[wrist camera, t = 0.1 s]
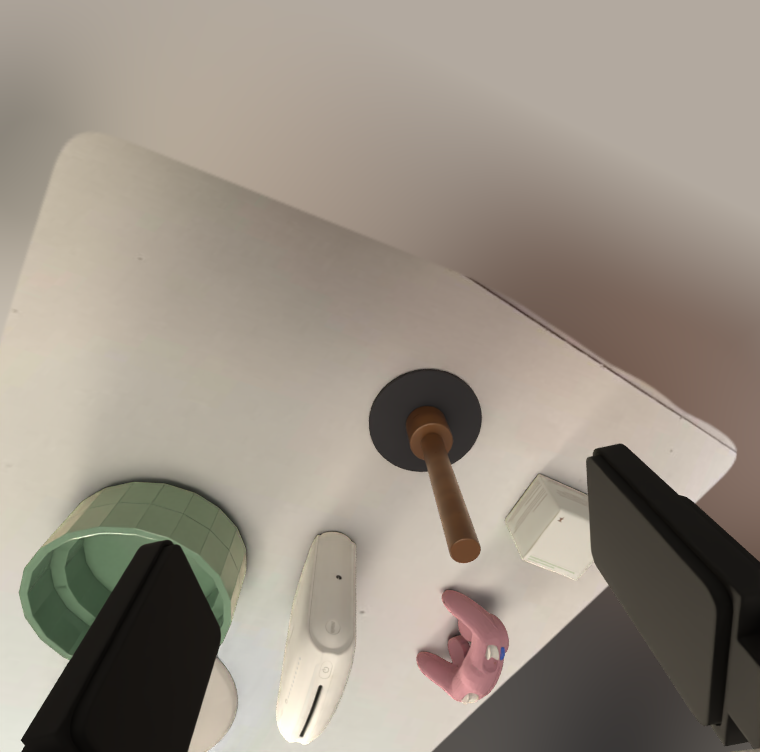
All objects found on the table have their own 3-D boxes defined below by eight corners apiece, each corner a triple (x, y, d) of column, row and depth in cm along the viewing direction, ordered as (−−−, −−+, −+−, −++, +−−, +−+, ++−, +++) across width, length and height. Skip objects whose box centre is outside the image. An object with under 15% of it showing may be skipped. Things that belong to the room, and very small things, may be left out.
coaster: (357, 383, 35) (357, 385, 35) (472, 357, 35) (473, 359, 34) (382, 479, 38) (382, 481, 38) (487, 456, 38) (488, 459, 38)
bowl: (34, 499, 37) (-22, 552, 32) (213, 460, 37) (188, 507, 31) (113, 628, 43) (77, 693, 37) (269, 596, 43) (256, 657, 37)
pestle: (402, 410, 36) (429, 533, 23) (442, 401, 36) (492, 520, 23) (409, 445, 37) (439, 580, 24) (448, 436, 37) (499, 568, 24)
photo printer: (314, 524, 40) (297, 658, 28) (361, 535, 40) (364, 669, 29) (287, 609, 43) (263, 759, 32) (331, 617, 44) (322, 767, 32)
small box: (502, 520, 41) (520, 561, 36) (537, 471, 39) (562, 507, 34) (553, 541, 42) (578, 584, 37) (590, 494, 40) (621, 532, 36)
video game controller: (444, 647, 48) (488, 712, 43) (410, 660, 46) (452, 731, 40) (475, 577, 45) (527, 638, 40) (440, 587, 42) (490, 654, 37)
